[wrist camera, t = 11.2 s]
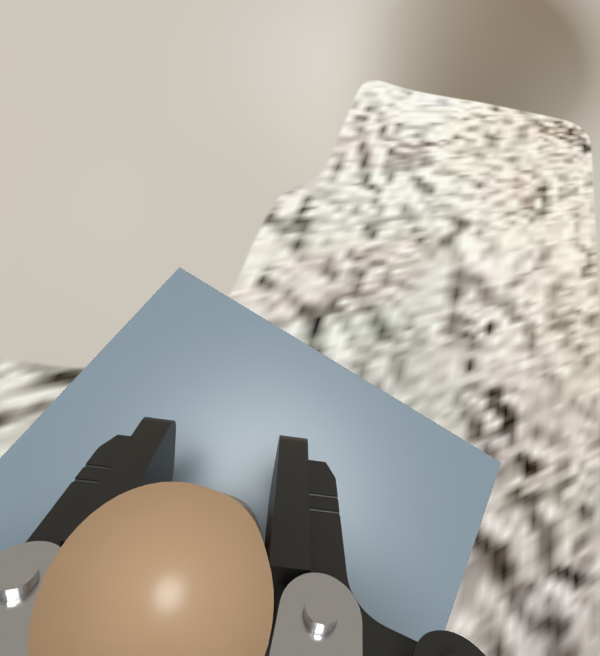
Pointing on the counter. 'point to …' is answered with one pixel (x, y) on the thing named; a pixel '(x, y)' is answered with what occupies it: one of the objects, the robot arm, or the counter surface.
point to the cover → (233, 487)
